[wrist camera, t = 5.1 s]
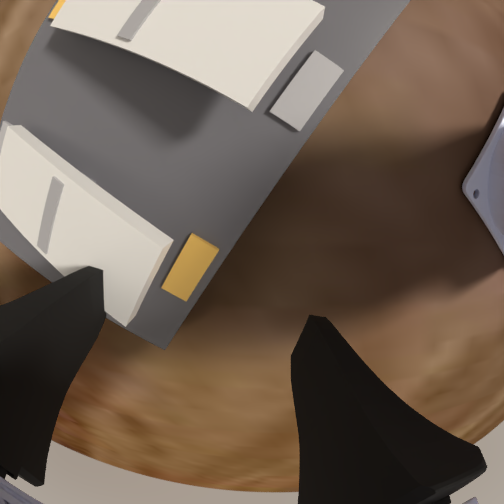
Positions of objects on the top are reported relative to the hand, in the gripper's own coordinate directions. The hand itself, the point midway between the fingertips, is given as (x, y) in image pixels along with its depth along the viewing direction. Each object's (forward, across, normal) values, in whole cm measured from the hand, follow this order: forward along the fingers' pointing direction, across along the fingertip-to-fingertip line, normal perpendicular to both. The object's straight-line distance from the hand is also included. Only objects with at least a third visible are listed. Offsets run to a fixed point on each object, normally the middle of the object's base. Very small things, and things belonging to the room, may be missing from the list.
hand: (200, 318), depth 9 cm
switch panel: (+4, +3, -10) cm, 11 cm away
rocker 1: (+1, +6, -2) cm, 7 cm away
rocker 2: (+1, +3, -10) cm, 10 cm away
